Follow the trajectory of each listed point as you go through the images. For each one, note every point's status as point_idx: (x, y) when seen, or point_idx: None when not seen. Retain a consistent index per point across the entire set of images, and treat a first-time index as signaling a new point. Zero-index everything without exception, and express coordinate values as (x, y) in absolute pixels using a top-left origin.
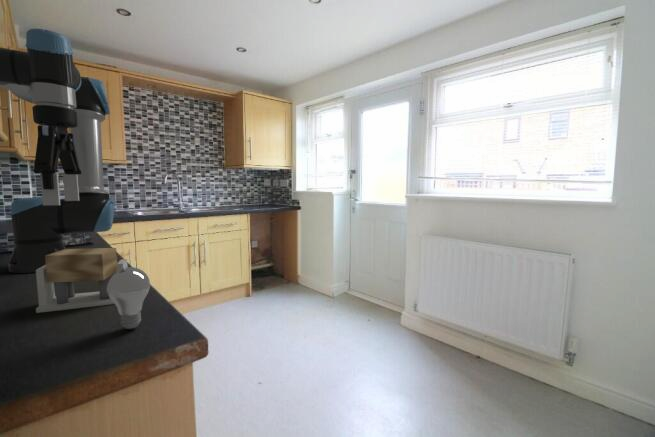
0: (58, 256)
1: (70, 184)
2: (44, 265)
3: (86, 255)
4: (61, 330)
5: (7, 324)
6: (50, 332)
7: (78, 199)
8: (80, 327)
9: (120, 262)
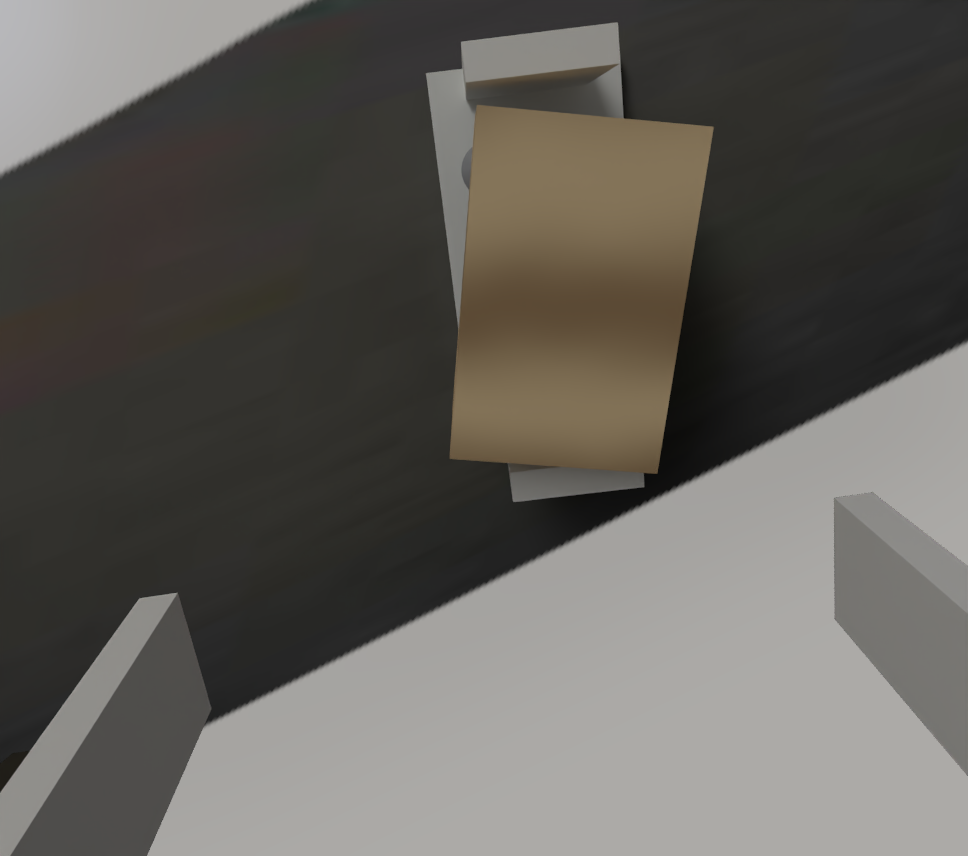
0: (667, 399)
1: (113, 804)
2: (537, 497)
3: (692, 233)
4: (888, 214)
5: (737, 452)
6: (892, 249)
7: (165, 602)
8: (886, 148)
9: (576, 52)
